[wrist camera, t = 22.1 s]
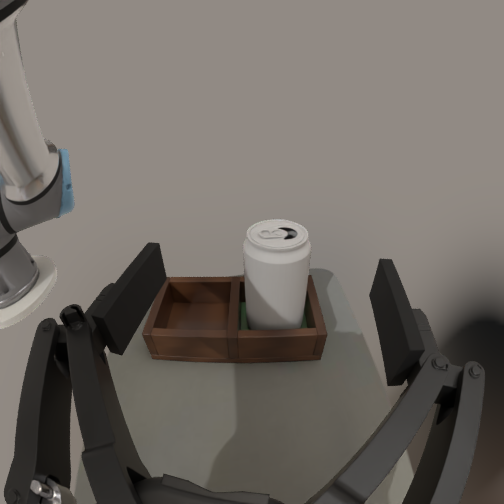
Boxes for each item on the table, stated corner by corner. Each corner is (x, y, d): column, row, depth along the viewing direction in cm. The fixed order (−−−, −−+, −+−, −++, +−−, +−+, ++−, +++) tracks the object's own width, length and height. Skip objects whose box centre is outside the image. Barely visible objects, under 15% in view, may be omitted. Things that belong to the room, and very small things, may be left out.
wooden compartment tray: (152, 359, 28) (141, 334, 26) (169, 302, 37) (163, 276, 34) (320, 359, 28) (327, 334, 26) (307, 300, 37) (311, 274, 34)
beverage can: (308, 339, 30) (323, 246, 23) (250, 348, 29) (247, 253, 22) (293, 302, 35) (300, 214, 29) (243, 308, 34) (238, 219, 28)
